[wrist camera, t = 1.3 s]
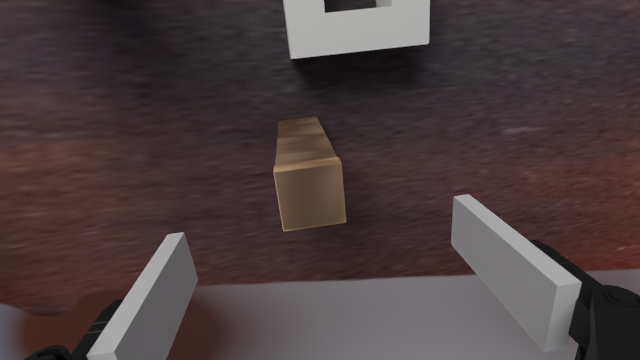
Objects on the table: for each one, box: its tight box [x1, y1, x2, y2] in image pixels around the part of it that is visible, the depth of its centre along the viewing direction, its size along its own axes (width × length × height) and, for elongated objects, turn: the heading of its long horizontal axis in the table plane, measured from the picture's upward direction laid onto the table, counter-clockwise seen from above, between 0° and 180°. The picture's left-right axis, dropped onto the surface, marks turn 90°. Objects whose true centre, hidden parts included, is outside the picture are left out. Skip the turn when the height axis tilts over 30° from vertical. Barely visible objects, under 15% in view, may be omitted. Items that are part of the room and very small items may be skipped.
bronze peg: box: [274, 116, 346, 231], centre depth 28 cm, size 4×4×16 cm
